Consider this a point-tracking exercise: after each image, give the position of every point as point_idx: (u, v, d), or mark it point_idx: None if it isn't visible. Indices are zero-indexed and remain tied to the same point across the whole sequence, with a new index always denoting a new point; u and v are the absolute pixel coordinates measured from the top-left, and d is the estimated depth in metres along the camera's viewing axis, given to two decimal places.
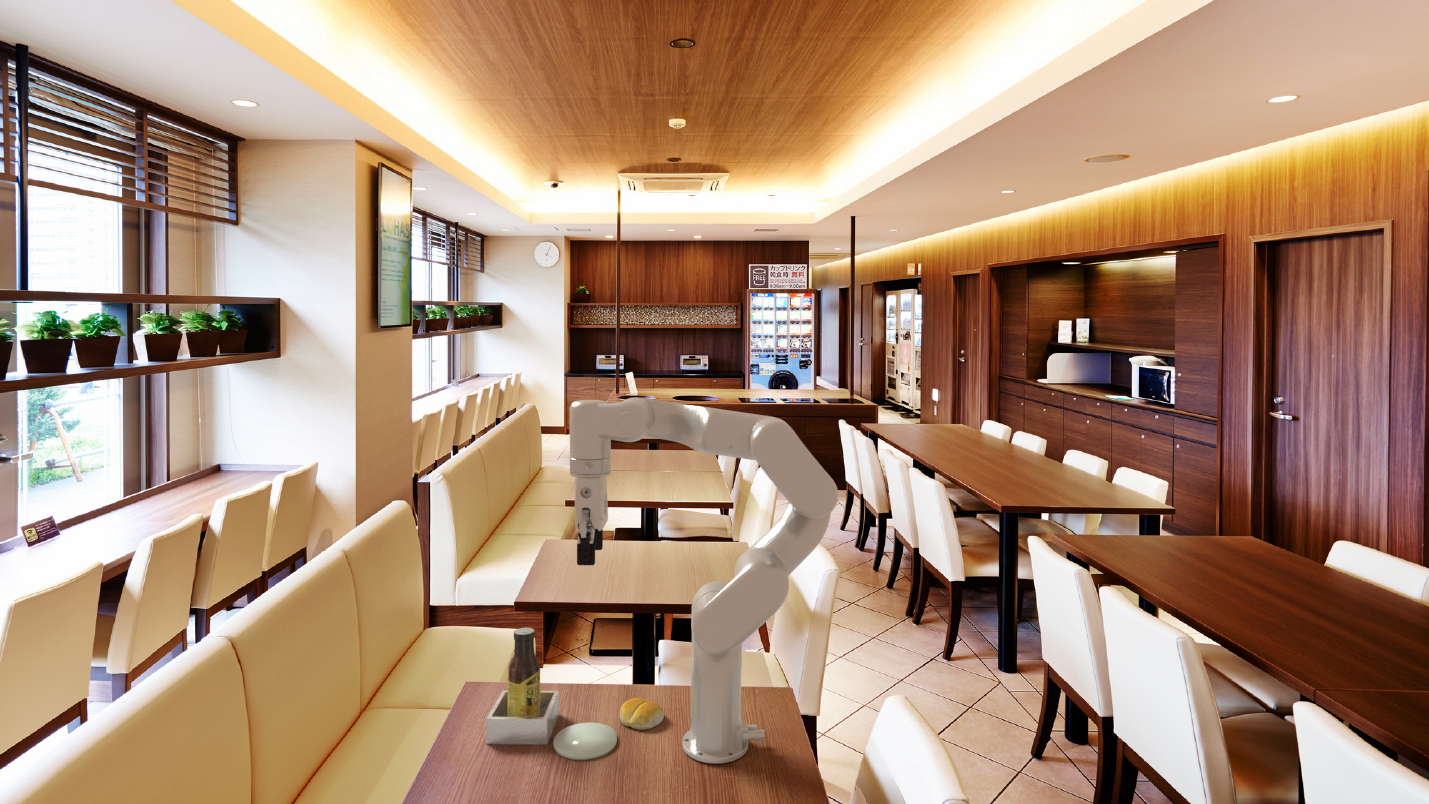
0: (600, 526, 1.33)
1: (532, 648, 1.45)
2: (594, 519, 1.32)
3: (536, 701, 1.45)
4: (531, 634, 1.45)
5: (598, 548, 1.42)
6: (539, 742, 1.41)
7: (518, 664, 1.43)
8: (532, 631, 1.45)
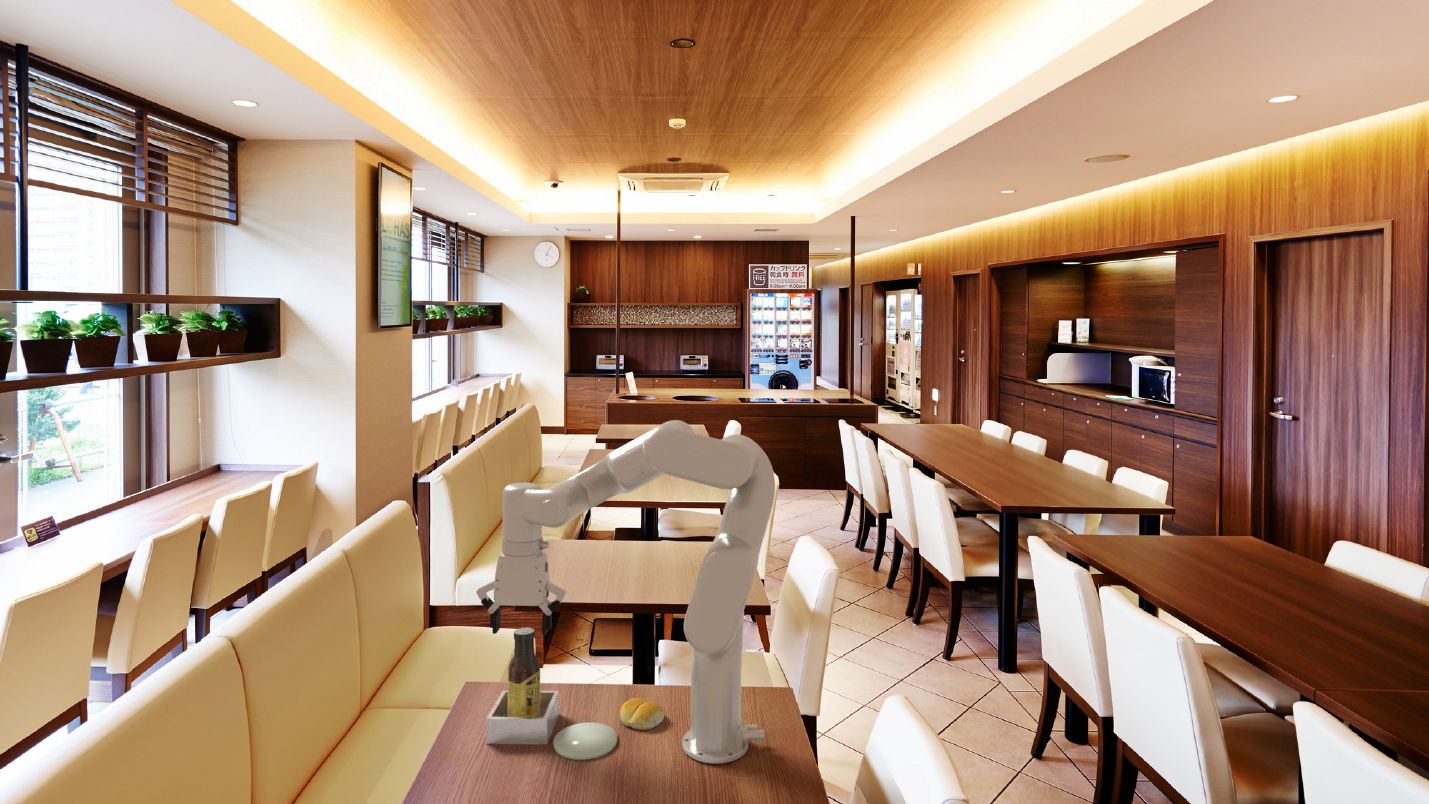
0: (548, 593, 1.47)
1: (532, 648, 1.45)
2: None
3: (536, 701, 1.45)
4: (531, 634, 1.45)
5: (499, 627, 1.46)
6: (539, 742, 1.41)
7: (518, 664, 1.43)
8: (532, 631, 1.45)
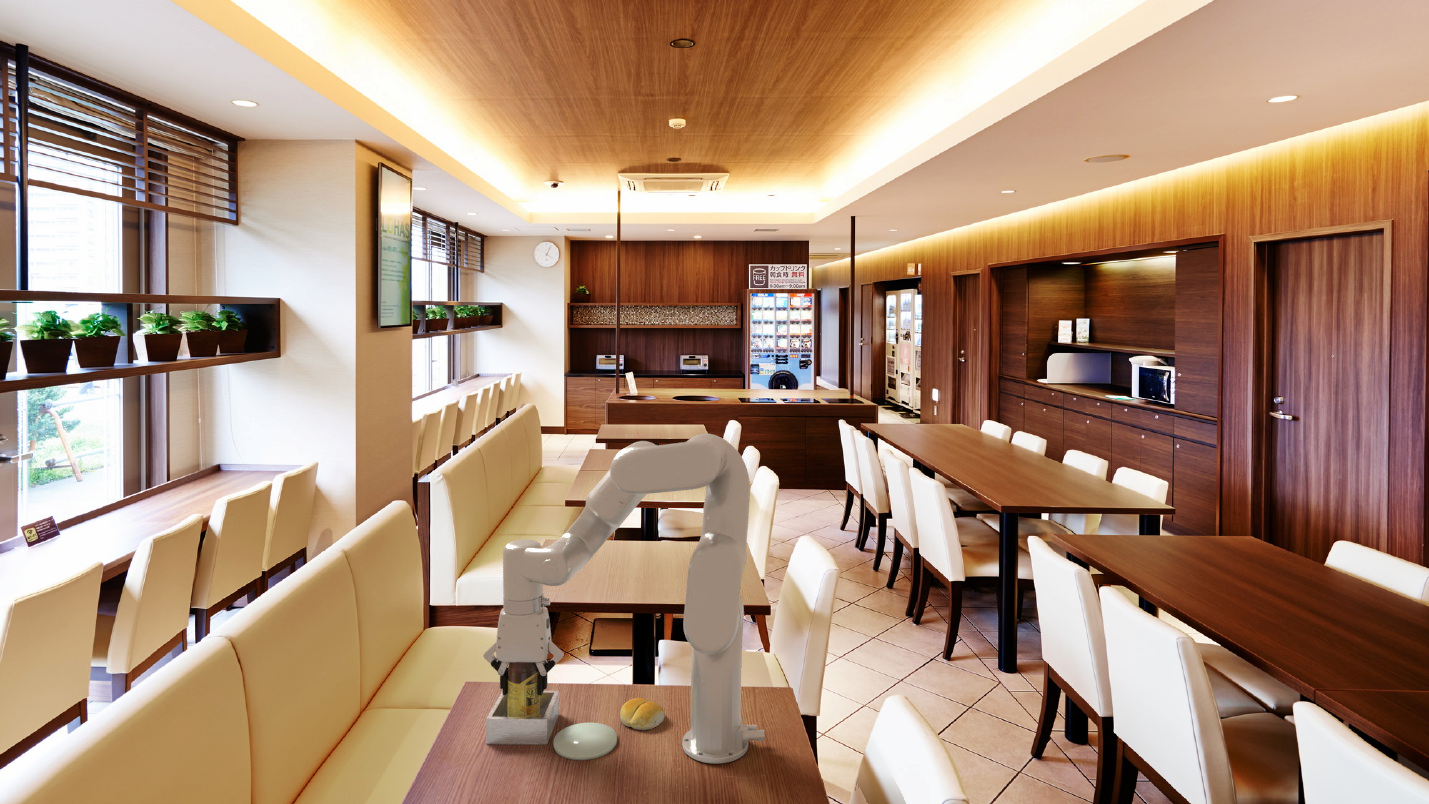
0: None
1: None
2: None
3: (536, 701, 1.45)
4: None
5: None
6: (539, 742, 1.41)
7: (518, 664, 1.43)
8: None
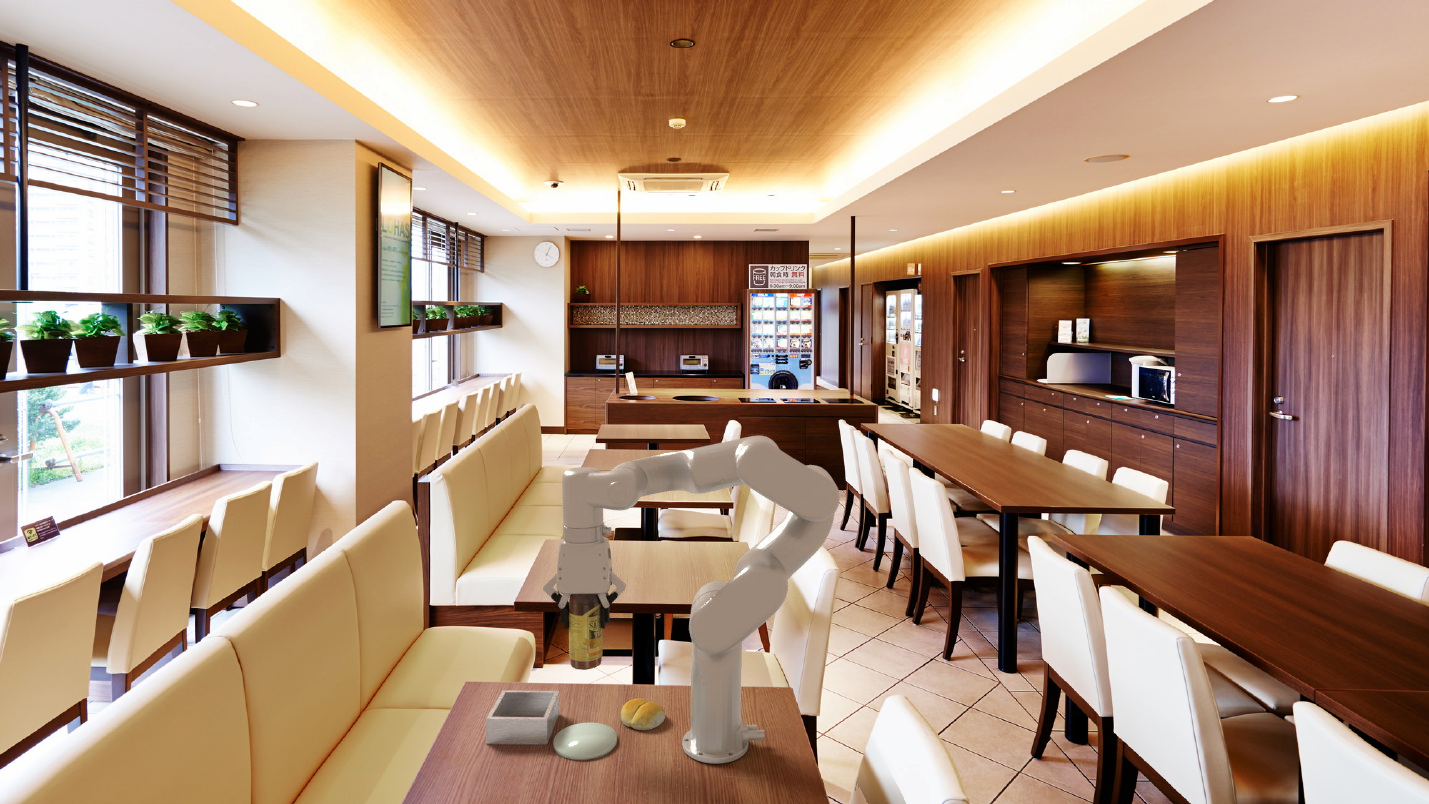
0: None
1: None
2: None
3: (599, 634, 1.39)
4: None
5: None
6: (539, 742, 1.41)
7: (580, 596, 1.38)
8: None
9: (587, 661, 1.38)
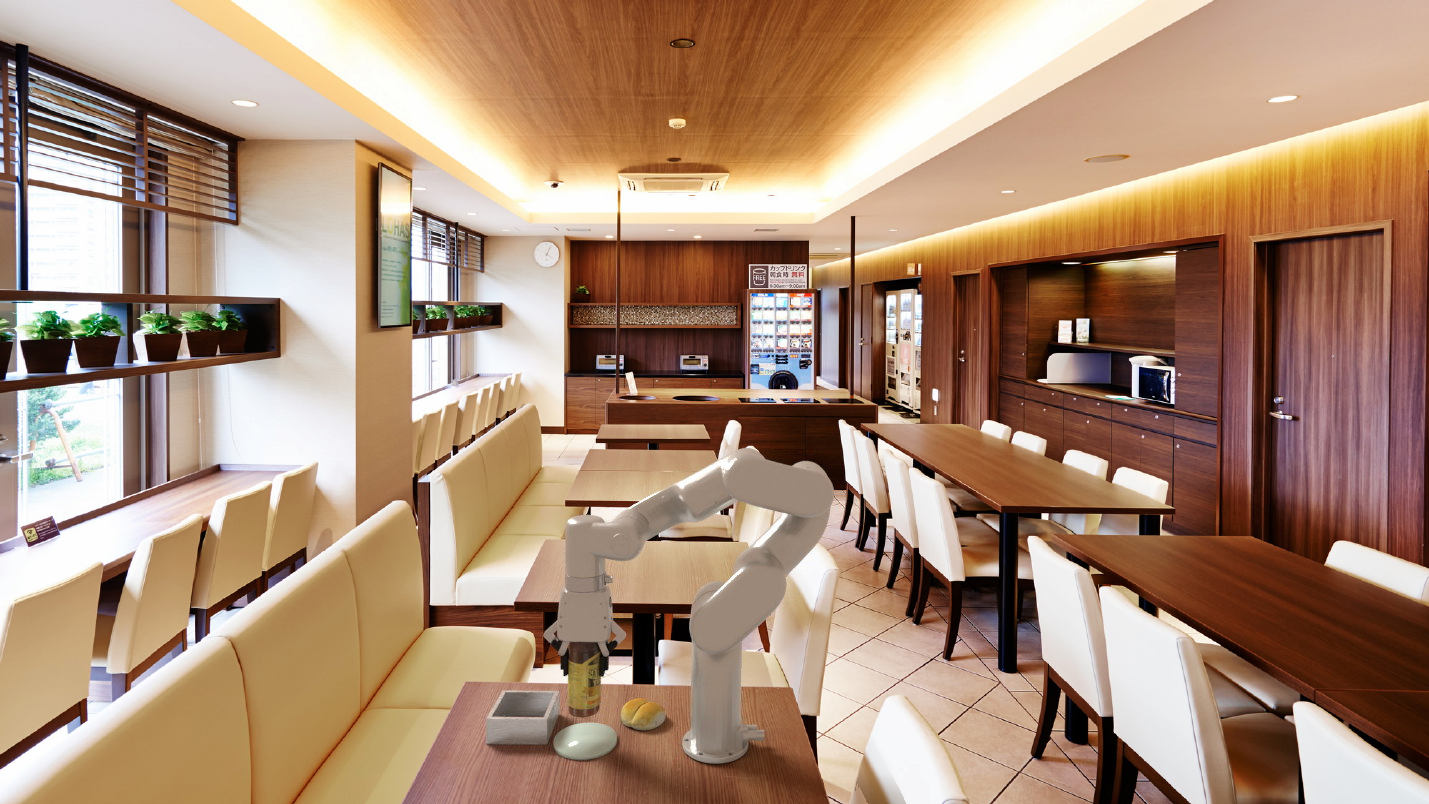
0: None
1: None
2: None
3: (598, 682, 1.40)
4: None
5: None
6: (539, 742, 1.41)
7: (580, 644, 1.38)
8: None
9: (585, 709, 1.38)
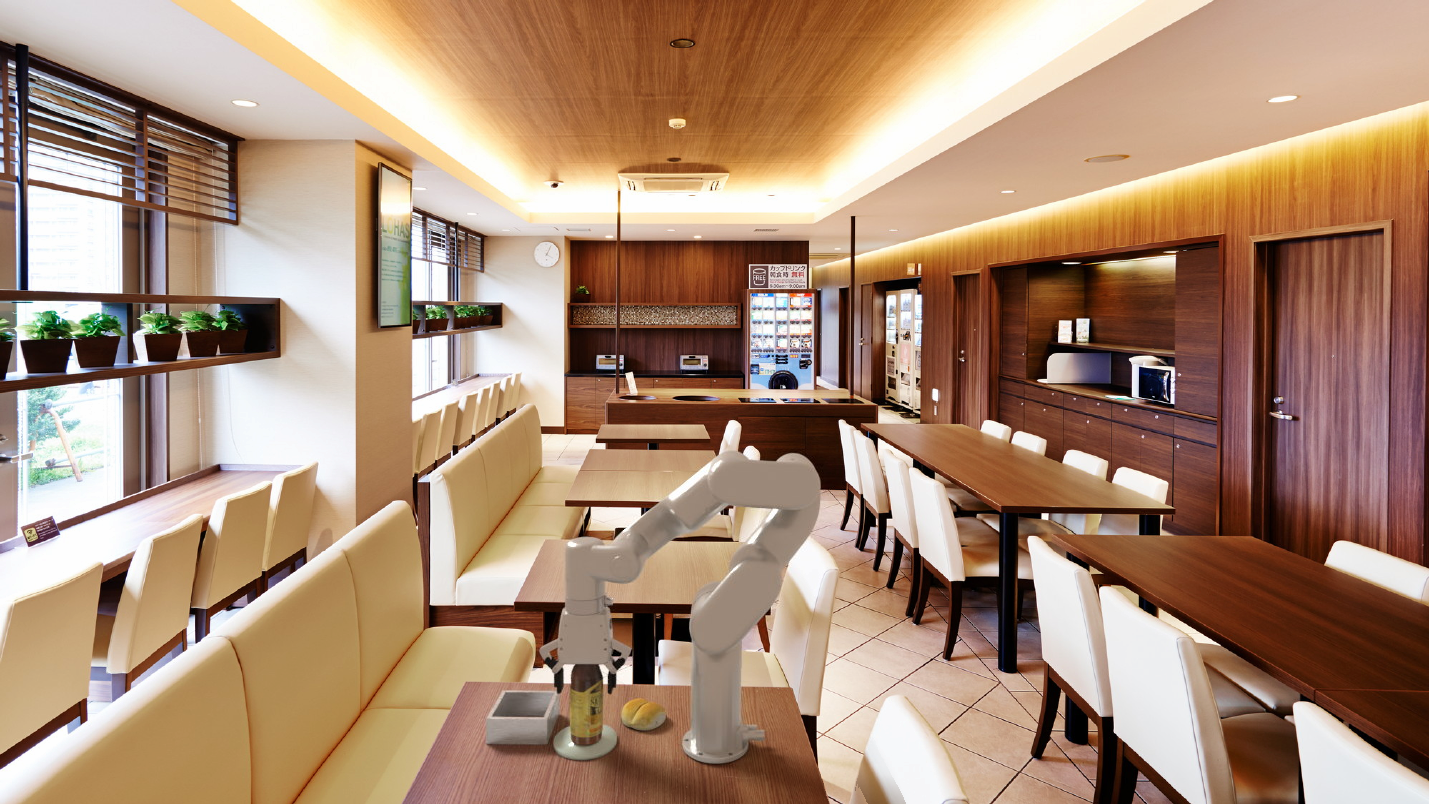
0: (611, 649, 1.43)
1: None
2: None
3: (600, 710, 1.40)
4: None
5: (563, 686, 1.42)
6: (539, 742, 1.41)
7: (582, 672, 1.39)
8: None
9: (587, 737, 1.39)
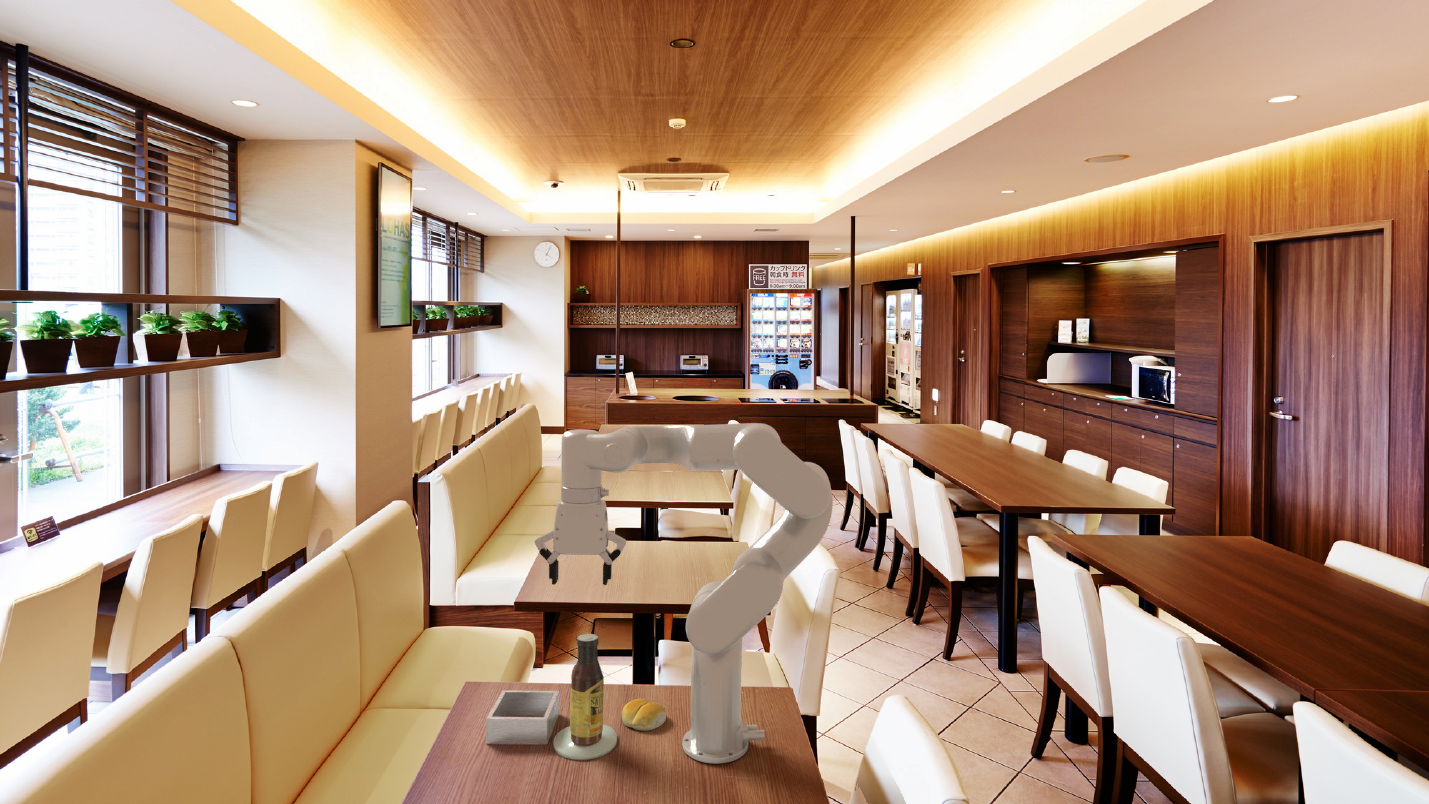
0: None
1: (596, 655, 1.41)
2: None
3: (600, 710, 1.40)
4: (595, 640, 1.40)
5: (557, 578, 1.42)
6: (539, 742, 1.41)
7: (583, 672, 1.39)
8: (596, 637, 1.41)
9: (587, 737, 1.39)
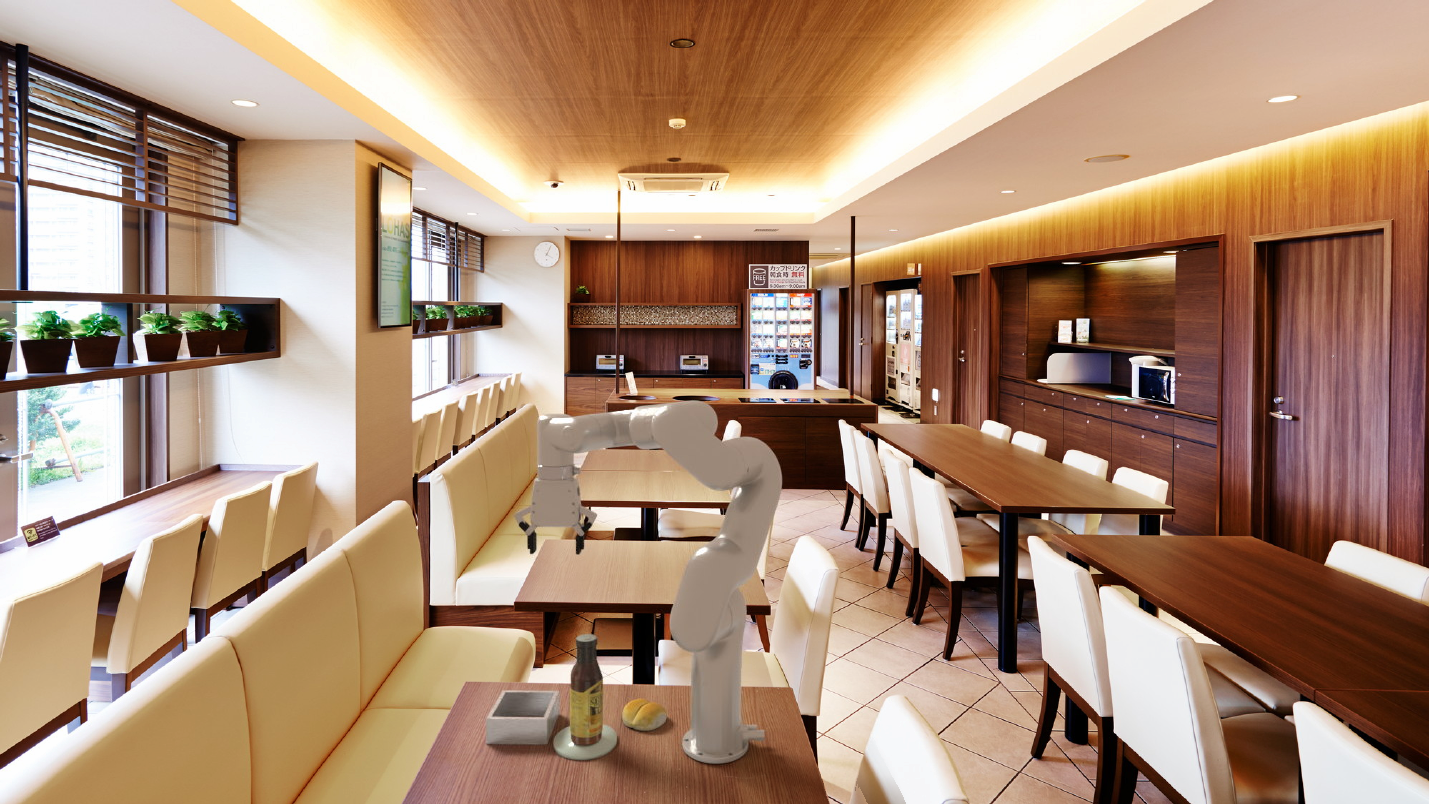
0: (580, 517, 1.58)
1: (595, 655, 1.40)
2: None
3: (600, 710, 1.40)
4: (594, 641, 1.40)
5: (536, 549, 1.57)
6: (539, 742, 1.41)
7: (582, 672, 1.38)
8: (595, 638, 1.40)
9: (587, 737, 1.39)
